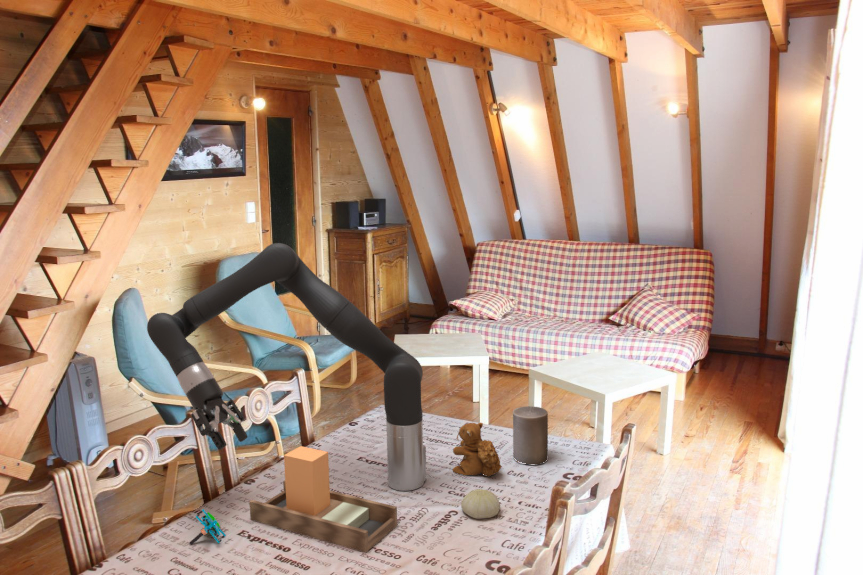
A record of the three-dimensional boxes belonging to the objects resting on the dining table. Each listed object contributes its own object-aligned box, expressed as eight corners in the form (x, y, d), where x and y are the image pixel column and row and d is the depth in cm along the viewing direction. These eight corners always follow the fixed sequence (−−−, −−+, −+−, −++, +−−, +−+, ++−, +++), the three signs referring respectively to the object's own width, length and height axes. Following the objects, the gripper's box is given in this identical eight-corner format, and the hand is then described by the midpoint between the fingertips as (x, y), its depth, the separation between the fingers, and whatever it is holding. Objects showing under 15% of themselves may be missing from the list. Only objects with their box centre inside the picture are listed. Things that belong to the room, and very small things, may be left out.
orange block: (286, 508, 162) (283, 455, 160) (302, 497, 167) (300, 446, 165) (314, 515, 158) (312, 461, 156) (330, 504, 163) (328, 452, 161)
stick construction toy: (227, 538, 151) (203, 511, 150) (200, 561, 149) (176, 534, 148) (229, 527, 162) (207, 501, 162) (204, 548, 160) (182, 523, 160)
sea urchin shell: (505, 496, 169) (499, 484, 162) (499, 529, 164) (493, 518, 158) (468, 491, 172) (461, 479, 165) (462, 523, 167) (455, 512, 161)
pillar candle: (553, 456, 196) (553, 404, 194) (539, 468, 188) (539, 415, 186) (521, 449, 202) (521, 399, 199) (506, 461, 194) (506, 409, 191)
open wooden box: (250, 519, 163) (249, 501, 162) (286, 496, 174) (285, 479, 173) (365, 552, 148) (365, 532, 147) (397, 525, 159) (396, 506, 159)
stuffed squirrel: (470, 459, 195) (470, 414, 193) (511, 473, 186) (511, 426, 184) (446, 470, 188) (446, 424, 186) (488, 485, 179) (488, 437, 177)
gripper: (191, 381, 159) (227, 442, 157) (228, 373, 173) (261, 429, 170) (169, 398, 161) (204, 459, 158) (207, 389, 175) (239, 445, 172)
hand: (233, 443), depth 164 cm, fingers open, 8 cm apart
